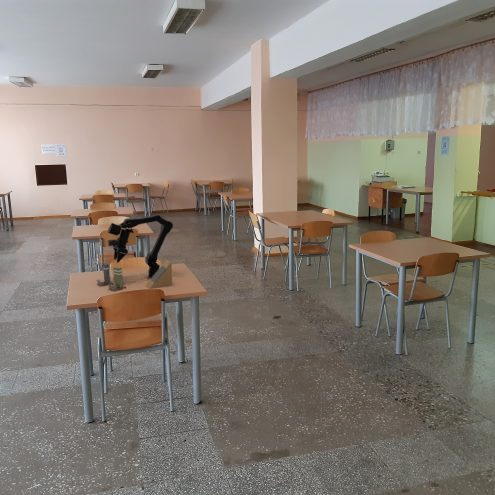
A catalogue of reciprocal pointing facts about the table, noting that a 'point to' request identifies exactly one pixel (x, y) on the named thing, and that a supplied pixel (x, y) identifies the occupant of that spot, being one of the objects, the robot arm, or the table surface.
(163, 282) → the sandwich container
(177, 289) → the table surface
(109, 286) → the key rack
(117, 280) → the green striped block
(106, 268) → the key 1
